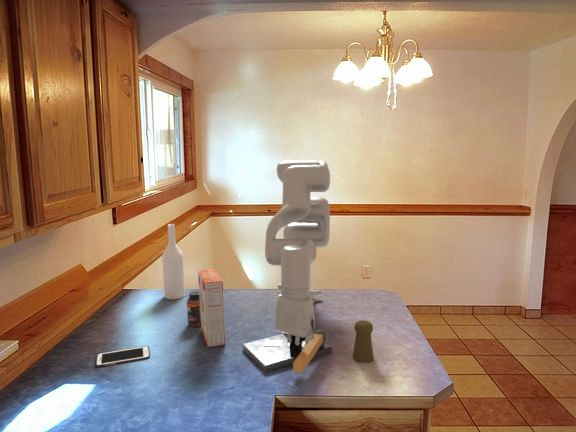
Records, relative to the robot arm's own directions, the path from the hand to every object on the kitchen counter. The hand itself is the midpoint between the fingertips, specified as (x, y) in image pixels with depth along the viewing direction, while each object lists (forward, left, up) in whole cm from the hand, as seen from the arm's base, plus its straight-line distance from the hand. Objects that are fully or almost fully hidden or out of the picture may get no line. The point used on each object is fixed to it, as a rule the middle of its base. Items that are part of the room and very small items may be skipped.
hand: (295, 355), depth 118 cm
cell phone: (+40, -32, -5) cm, 51 cm away
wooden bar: (-5, 0, 0) cm, 5 cm away
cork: (-20, +4, -4) cm, 21 cm away
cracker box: (+13, -31, -4) cm, 34 cm away
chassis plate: (-3, -11, -4) cm, 12 cm away
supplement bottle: (+14, -44, -4) cm, 46 cm away
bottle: (+13, -76, -4) cm, 77 cm away
